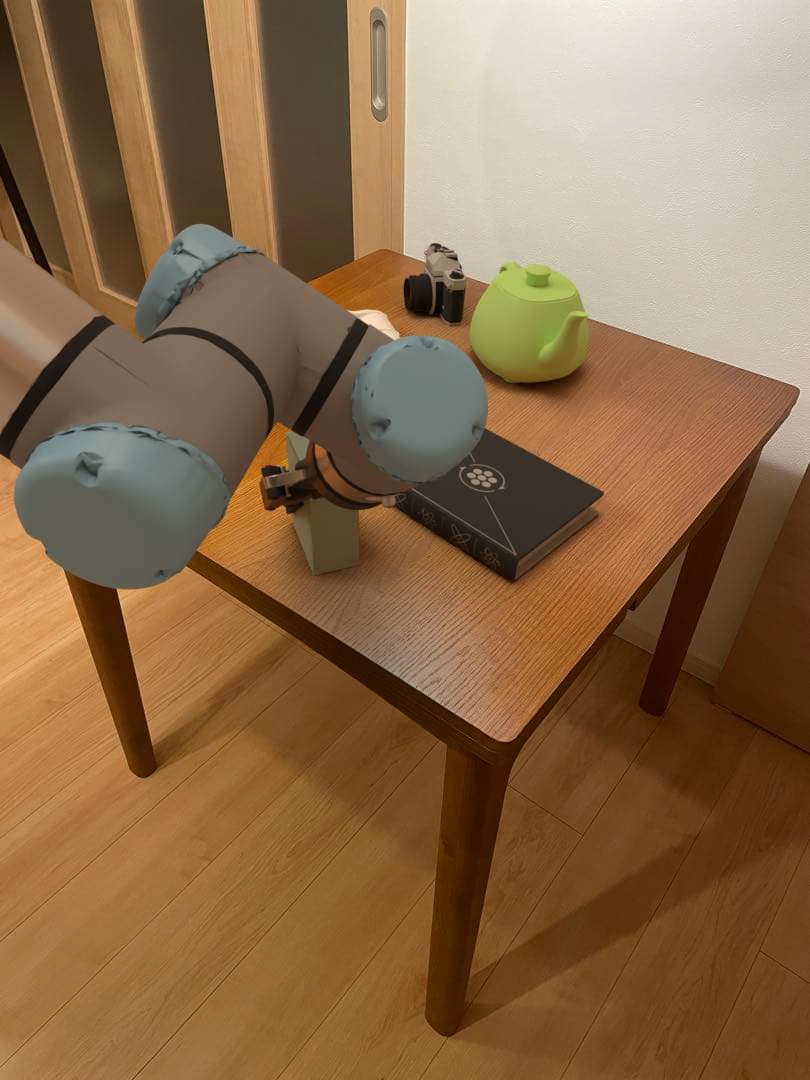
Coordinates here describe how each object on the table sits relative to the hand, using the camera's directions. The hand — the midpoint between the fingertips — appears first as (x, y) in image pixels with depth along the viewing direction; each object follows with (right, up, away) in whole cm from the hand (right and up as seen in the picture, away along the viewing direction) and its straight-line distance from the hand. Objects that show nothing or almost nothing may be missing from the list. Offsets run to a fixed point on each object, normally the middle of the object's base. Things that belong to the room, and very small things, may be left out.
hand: (313, 495), depth 79 cm
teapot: (+25, +18, +27) cm, 41 cm away
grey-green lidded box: (+1, -5, 0) cm, 5 cm away
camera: (+13, +30, +39) cm, 51 cm away
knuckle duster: (+1, +20, +28) cm, 34 cm away
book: (+16, 0, +6) cm, 17 cm away
